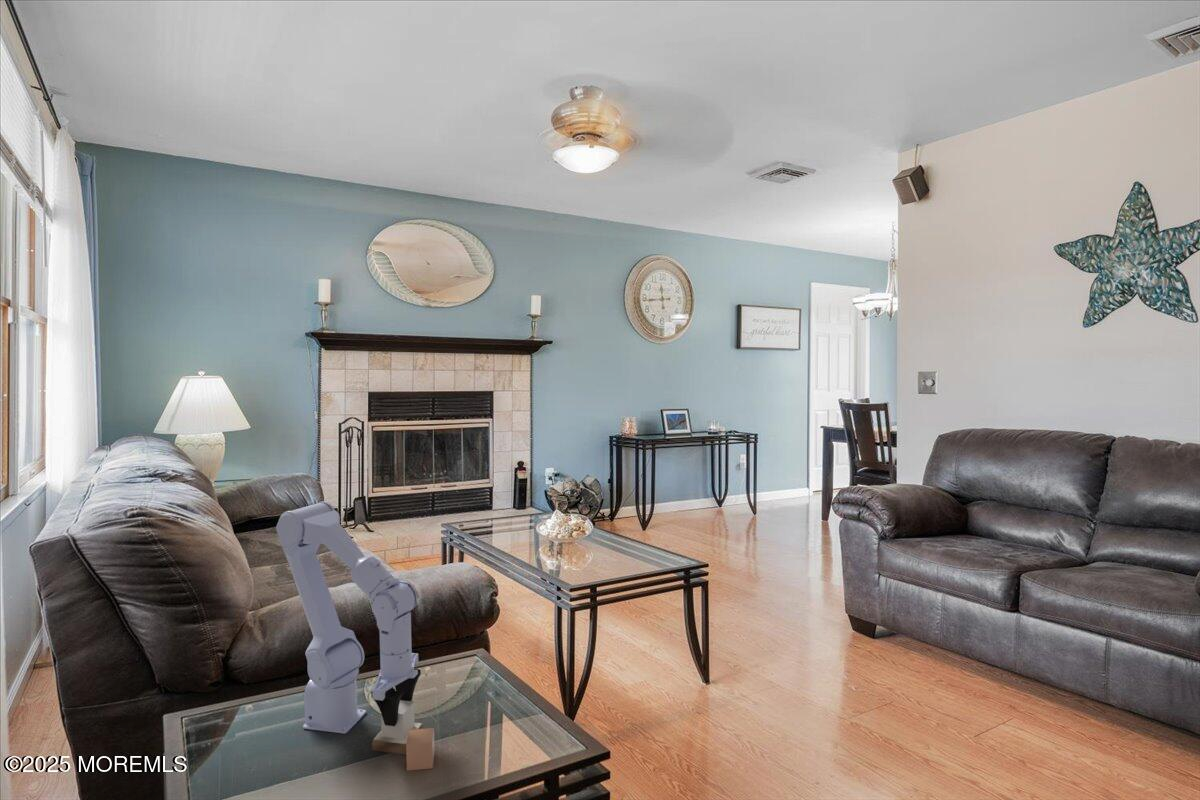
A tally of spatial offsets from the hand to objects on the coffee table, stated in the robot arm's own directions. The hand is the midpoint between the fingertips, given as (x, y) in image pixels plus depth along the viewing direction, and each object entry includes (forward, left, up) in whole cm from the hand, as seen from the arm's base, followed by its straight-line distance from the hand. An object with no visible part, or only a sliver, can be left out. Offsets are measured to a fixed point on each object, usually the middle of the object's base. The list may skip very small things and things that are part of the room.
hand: (397, 716), depth 134 cm
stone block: (0, 0, -3) cm, 3 cm away
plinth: (0, 0, -6) cm, 6 cm away
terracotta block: (+7, -5, -5) cm, 10 cm away
